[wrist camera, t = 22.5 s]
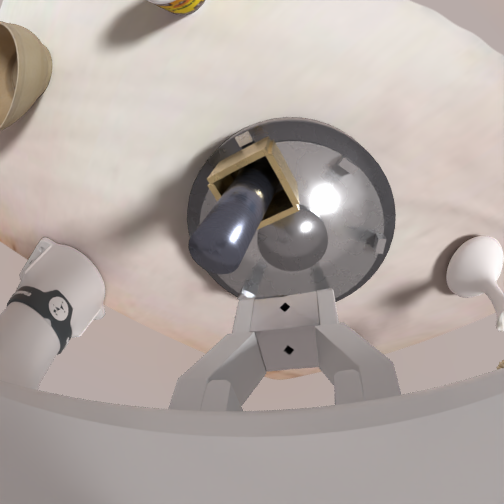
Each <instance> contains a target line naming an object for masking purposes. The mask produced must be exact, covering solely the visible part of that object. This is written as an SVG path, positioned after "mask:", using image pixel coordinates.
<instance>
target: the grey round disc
mask: <svg viewBox="0 0 504 504" xmlns="http://www.w3.org/2000/svg"><path fill="white" fill-rule="evenodd" d="M263 156H266V158H267V159H268V161H269V163H270V165H271V166H272V168H273V170H274V172H275V174H276V175H277V177H278V179H279V181H280V184H279V186H278V188H277V190H276V192H275V194H274V196H273V198H272V200H271V202H270V204H269V206H268V208H267V210H266V212H265V214H264V216H263V218H262V220H261V222H260V224H259V226H258V228H257V230H256V232H255V235H254V237H253V239H252V241H251V243H250V245H249V247H248V249H247V251H246V253H245V255H244V257H243V259H242V261H241V263H240V265H239V267H238V268H237V269H236V270H235V271H234V272H232V273H229V274H218V275H219V277H220V278H221V279H222V280H223V281H224V282H225V283H226V284H227V285H229V286H230V287H231V288H232V289H234V290H235V291H236V292H238V293H239V295H238V300H240V299H246V298H256V297H267V296H278V295H290V294H298V293H306V292H314V291H317V290H324V289H330V288H332V289H333V291H334V297H335V298H337V297H339V296H340V295H342V294H344V293H346V292H347V291H348V290H350V289H351V288H352V287H354V286H355V285H356V284H357V283H358V282H359V281H360V280H361V279H362V278H363V277H364V276H365V275H366V274H367V272H368V271H369V270H370V268H371V267H372V265H373V264H374V262H375V260H376V258H377V256H378V254H383V252H384V248H385V243H386V237H385V236H384V234H383V233H384V217H383V210H382V206H381V203H380V199H379V197H378V195H377V192H376V190H375V188H374V187H373V185H372V183H371V182H370V180H369V179H368V177H367V176H366V175H365V174H364V172H363V171H362V170H361V169H360V168H359V167H358V166H357V165H356V164H355V163H354V162H353V161H351V160H350V159H349V158H348V157H346V156H345V155H343V154H342V153H340V152H338V151H337V150H334V149H332V148H330V147H328V146H325V145H322V144H319V143H315V142H311V141H304V140H280V141H274V140H272V141H271V140H270V138H269V136H267V137H265V138H263V139H261V140H260V141H258V142H256V143H254V144H252V145H250V146H248V147H246V148H244V149H242V150H240V151H238V152H236V153H235V154H233V155H231V156H229V157H227V158H225V159H223V160H222V161H220V162H219V163H218V164H217V166H216V167H215V168H214V170H213V171H212V172H211V174H210V175H209V176H208V178H207V180H208V182H209V184H208V187H209V190H208V192H207V194H206V196H205V199H204V202H203V205H202V208H201V215H200V223H199V224H198V226H197V228H198V227H199V225H200V224H201V223H202V221H203V220H204V219H205V217H206V216H207V215H208V213H209V212H210V211H211V209H212V208H213V207H214V205H215V204H216V203H217V202H218V200H219V199H220V198H221V196H222V195H223V194H224V192H225V191H226V190H227V189H228V187H229V186H230V185H231V183H232V182H233V181H234V180H235V178H236V177H237V176H238V174H239V173H240V172H241V171H242V169H243V168H244V167H245V166H246V165H248V164H250V163H252V162H254V161H256V160H258V159H260V158H261V157H263Z"/></svg>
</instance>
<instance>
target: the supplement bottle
mask: <svg viewBox="0 0 504 504" xmlns="http://www.w3.org/2000/svg"><path fill="white" fill-rule="evenodd" d="M147 1H149V2H151V3H153V4H155V5H157V6H159V7H161V8H163V9H165V10H167V11H169V12H172V13H174V14H179V15H184V14H189V13H192V12H194V11H196V10H197V9H199V8H200V7H201V6H202V5H203V4H204V2H205V0H147Z"/></svg>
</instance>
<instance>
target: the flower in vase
mask: <svg viewBox="0 0 504 504" xmlns="http://www.w3.org/2000/svg"><path fill="white" fill-rule="evenodd" d="M503 260H504V256H503V251H502V247H501V245H500V243H499V242H498V241H497V240H496V239H495V238H493V237H491V236H477V237H474V238H471V239H469V240H468V241H466V242H465V243H463V244H462V245H461V246H460V247H459V248H458V249H457V250H456V252H455V253H454V255H453V256H452V258H451V260H450V262H449V265H448V269H447V275H446V280H447V285H448V287H449V289H450V290H451V291H452V292H453V293H454V294H456V295H458V296H460V297H465V298H469V297H475V296H479V295H481V294H483V293H485V294H486V295H487V296H488V297H489V299H490V300H491V302H492V304H493V306H494V308H495V311H496V314H497V321H496V328H497V329H498V330H499V331H504V293H503V292H502V290H501V289H500V288H499V286H498V285H497V282H496V281H497V279H498V277H499V276H500V273H501V270H502V266H503ZM498 366H499V367H497V370H498V369H501V368H504V360H502V362H499V365H498Z"/></svg>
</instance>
